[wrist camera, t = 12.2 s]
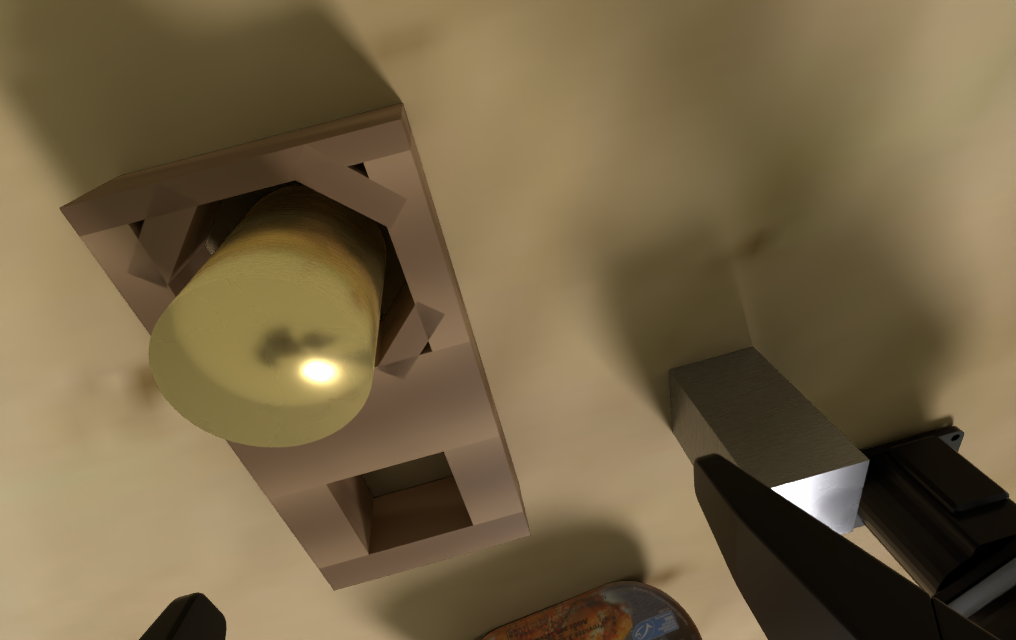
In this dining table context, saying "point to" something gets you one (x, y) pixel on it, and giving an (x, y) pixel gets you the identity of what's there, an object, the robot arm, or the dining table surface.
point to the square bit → (768, 434)
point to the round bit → (277, 324)
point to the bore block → (399, 353)
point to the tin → (606, 617)
